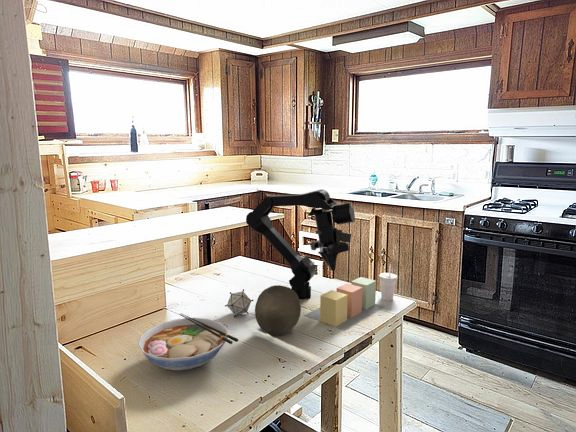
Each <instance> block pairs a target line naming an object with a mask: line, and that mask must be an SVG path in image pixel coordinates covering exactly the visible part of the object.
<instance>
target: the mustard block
mask: <svg viewBox="0 0 576 432" xmlns="http://www.w3.org/2000/svg"><path fill="white" fill-rule="evenodd" d="M319 297H320V299H319V301H320V304H319V305H320V307H319V308H320V321H322V322H324V323H323V324H325V323H327V324H330V325H333V326H335V327H334V328H336V326H338V325H340V324H341V323H343V322H345V321H347V297H348V295H347V294H343V293H340V292H337V290H333V289H331V290H329V291H327V292H325V293H323V294H320V296H319ZM322 322H321V323H322ZM327 324H326V325H327ZM330 325H329V326H330ZM333 326H332V327H333Z"/></svg>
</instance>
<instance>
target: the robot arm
mask: <svg viewBox="0 0 576 432" xmlns="http://www.w3.org/2000/svg"><path fill="white" fill-rule="evenodd" d="M290 206H293V207H294V206H303V207H306V208H311V210H310V212H308V216H309V217H311V216H314V219H315V224H316V230H315V234H317V235H318V240H314V241H312V242H311V244H310V250H312V251H317V249H319V251H318V252H317V253H318V254H319V255H320V257H321V258H322V259H323V260H324V262H325V263H326V265H327V266H328V268H329V270H330V271H332V272H333V271H336V265H337V258H338V255H339V254H341V253H345V252H348V251H350V244H349V243H351V242H352V241H351V240H352V233H347V232H343V229H338V228H337V227H334V223H336V225H344V224H349V223H350V224H351V223H352V224H353V223H355V220H356V214H355V211H354V208H353V207H352V204H351V202H350V201H349V202H345V203H340V204H338V203H337V202H336V201H335V200H334V199H332V198H331V196H330V193H329V192H328V191H327V190H325V189H318V190H317V189H316V190H313V191H309V192H305V193H297V194H278V195H277V194H276V195H275V194H270V195H267V196H265V197H264V198H263V200H262V201H261V202H260V203H259V204H258V205H257V206H256V207H255V208H254V209H253V210H252V211H250V212H248V213H247V215H246V218H245V222H246V225H247V226H248V227H249V228H251V229H252V230H253V231H255V232H256V233H258V234H261V235H262V236H263V237H264V238H265V239H266V240H267V242H268V243H270V244H271V245H272V246H273V248H274V249H275V250H276V251H277V252H278V254H280V256H282V258H283V259H284V260H285V261H286V262H287V263H288V265H289V266H290V269H291V270H290V271H291V272H292V274H293V276H292V277H291V278H290V279H288V282H289V286H290V288H291V289H292V290H294V291H295V293H296V294H297V295H298V297H299V300H307V299H308V300H309V299H311V298H312V287H311V285H310V281H311V279H313V277H314V276H315V275H316V273H317V268H316V265H315V262H313V261H312V260H311V258H310V257H309V256H308V255H307V254H306V255H305V256H304V257H303V256H301V255H300V254H298V253H297V251H296V250H295V249H294V248H293V247H292V246H291V245H290V243H288V242H287V240H286V239H285V238H284V237H283V236H282V235H281V234H280V233H279V232H278V230H277V229H276V228H275V227H274V226H273V223H272V220H271V218H270V216H269V214H270V213H271V212H272V211H273V208H275V207H276V208H277V207H290Z"/></svg>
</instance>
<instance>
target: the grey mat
mask: <svg viewBox="0 0 576 432" xmlns="http://www.w3.org/2000/svg"><path fill="white" fill-rule="evenodd" d="M383 308H385V305H381V304H377V303H375V305H373V306H371V307H369V308H368V309H362V312H361V313H359V314H357V315H355V316H354V317H352V318H351V317H348V316H347V321H345V322H343V323H341V324H340V325H338V326H336V327H335V326H333V325H330V324H327V323H324V322H322V321H320V307H319V308H316V309H314V310H312V311H309V312H308V313H306V314H304V315H303V316H304V317H306V318H308V319H312V320H313V321H317V322H320V323H323V324H325V325H328V326H331V327H333V328H336V329H339V330H342V331H347V330H348V329H350V328H352V327H353V326H355V325H357V324H359V323H360V322H362V321H363V320H366V319H367V318H368V317H370V316H372V315H374V314H375V313H377V312H379V311H380V310H383Z"/></svg>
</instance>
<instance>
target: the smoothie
mask: <svg viewBox="0 0 576 432" xmlns="http://www.w3.org/2000/svg"><path fill="white" fill-rule="evenodd" d="M388 268H389V270H388V272H382V273H379V276H378V279H379V283H380V293H381V299H382V300H384V301H393V300H394V296H395V291H396V290H395V289H396V284H397V280H398V274H395V273H392V272H391V271H392V264H391V263H389V267H388Z"/></svg>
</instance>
